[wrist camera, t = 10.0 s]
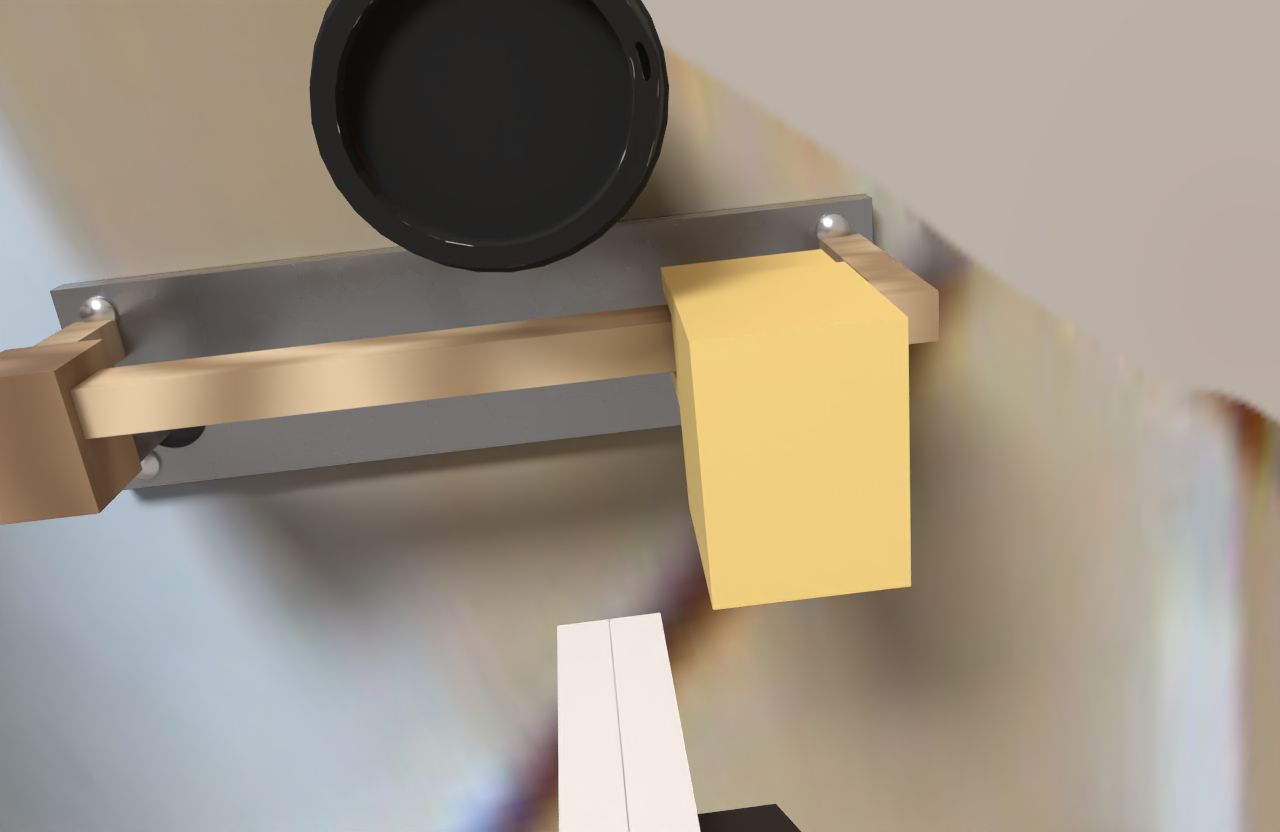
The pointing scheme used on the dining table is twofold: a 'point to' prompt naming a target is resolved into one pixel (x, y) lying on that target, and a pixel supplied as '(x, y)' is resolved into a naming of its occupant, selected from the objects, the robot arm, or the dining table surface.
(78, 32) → the dining table surface
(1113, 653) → the dining table surface
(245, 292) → the hole plate
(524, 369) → the bar
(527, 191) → the coffee cup
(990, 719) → the dining table surface
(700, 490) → the slider head
